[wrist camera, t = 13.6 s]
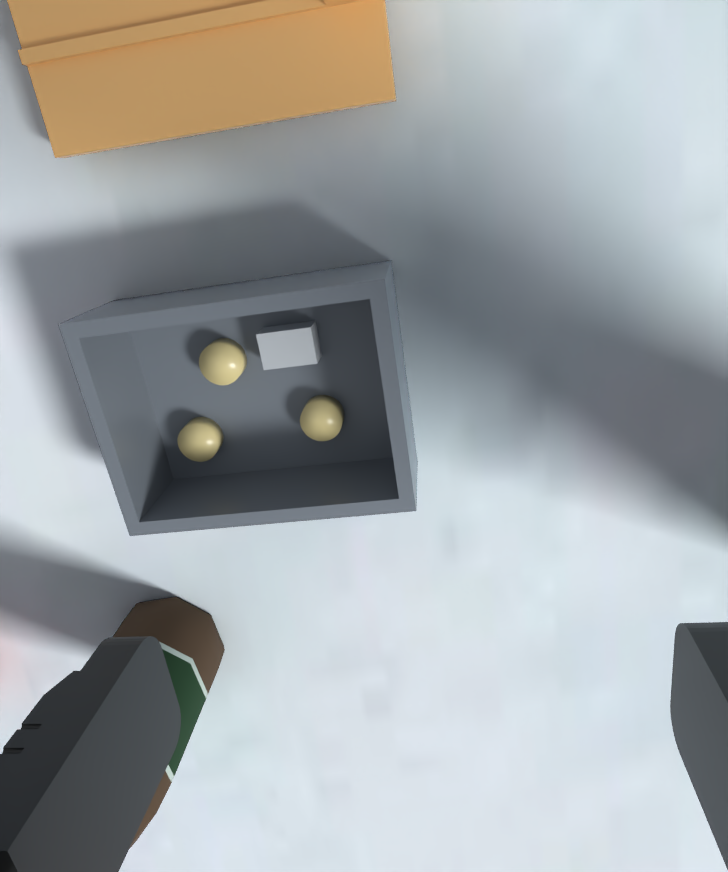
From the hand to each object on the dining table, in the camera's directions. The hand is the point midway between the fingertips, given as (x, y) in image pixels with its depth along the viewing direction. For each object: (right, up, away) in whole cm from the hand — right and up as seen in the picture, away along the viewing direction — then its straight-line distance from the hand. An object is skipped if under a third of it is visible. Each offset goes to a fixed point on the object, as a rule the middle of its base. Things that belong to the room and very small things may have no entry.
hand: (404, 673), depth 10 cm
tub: (-6, +7, +27) cm, 29 cm away
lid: (-8, +25, +20) cm, 33 cm away
